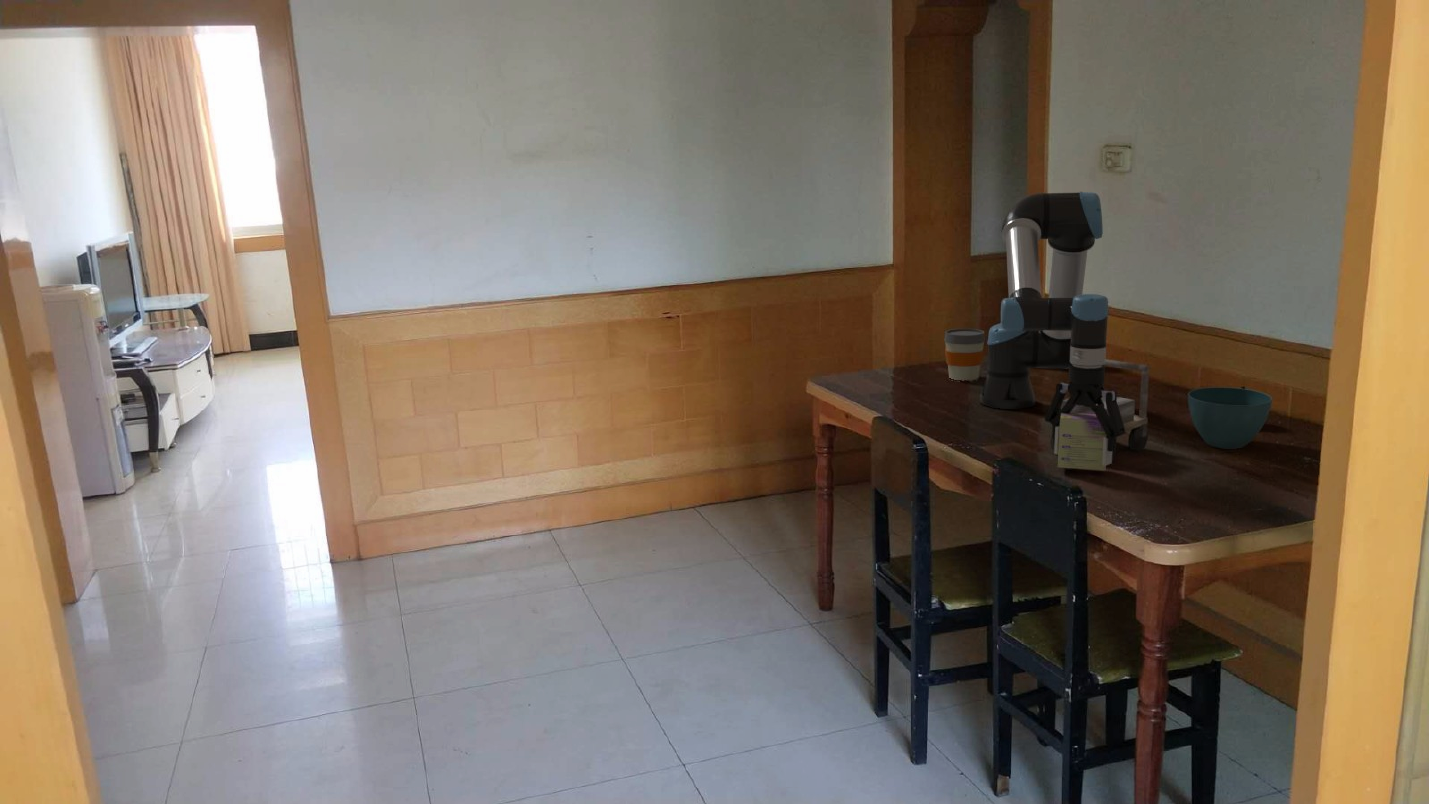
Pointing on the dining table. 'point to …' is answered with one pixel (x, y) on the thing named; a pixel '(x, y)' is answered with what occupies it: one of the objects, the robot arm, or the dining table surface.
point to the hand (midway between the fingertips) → (1082, 458)
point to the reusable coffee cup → (964, 353)
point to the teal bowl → (1228, 415)
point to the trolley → (1126, 408)
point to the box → (1080, 442)
